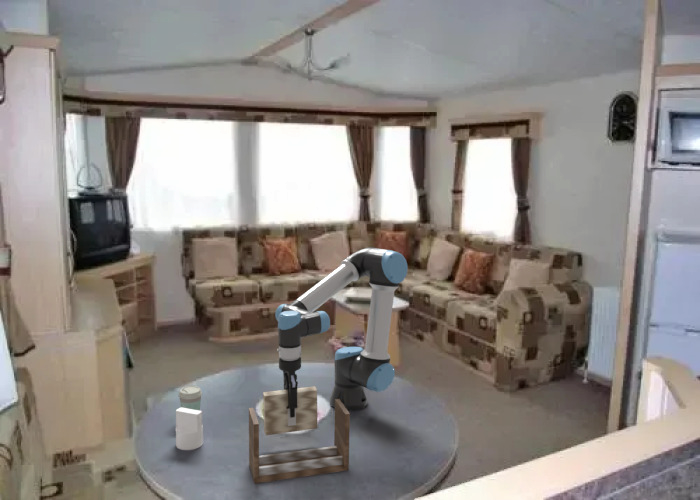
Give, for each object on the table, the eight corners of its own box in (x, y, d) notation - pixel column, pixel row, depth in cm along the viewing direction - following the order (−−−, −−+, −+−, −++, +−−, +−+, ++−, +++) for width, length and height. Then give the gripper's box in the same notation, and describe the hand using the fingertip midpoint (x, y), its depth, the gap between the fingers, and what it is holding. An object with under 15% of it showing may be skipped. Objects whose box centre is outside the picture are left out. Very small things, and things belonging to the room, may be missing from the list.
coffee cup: (181, 415, 223) (180, 385, 221) (204, 415, 223) (203, 385, 222) (176, 425, 214) (176, 394, 212) (200, 424, 215) (199, 394, 213)
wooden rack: (338, 452, 196) (339, 398, 194) (348, 470, 185) (349, 413, 182) (249, 464, 188) (248, 408, 185) (254, 483, 176) (253, 424, 174)
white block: (208, 440, 203) (207, 407, 202) (193, 452, 195) (192, 418, 193) (186, 436, 206) (185, 403, 204) (170, 447, 198) (169, 414, 196)
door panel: (315, 424, 204) (314, 386, 202) (317, 428, 201) (317, 390, 199) (263, 430, 199) (263, 392, 197) (265, 435, 196) (264, 396, 194)
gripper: (274, 350, 203) (275, 413, 206) (283, 366, 187) (284, 434, 191) (295, 348, 205) (296, 411, 209) (306, 364, 189) (306, 431, 193)
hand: (290, 422), depth 200 cm, fingers closed on door panel, 3 cm apart
